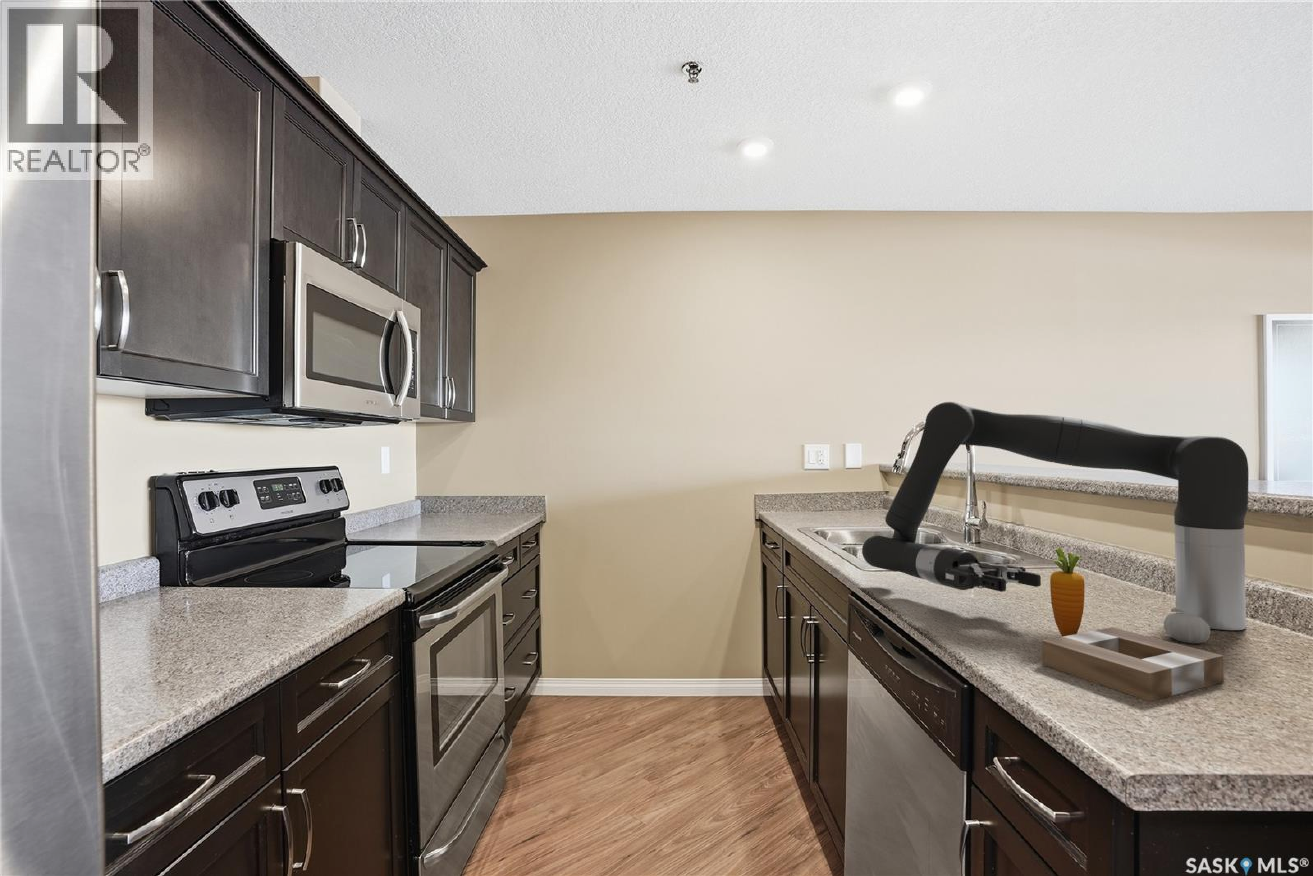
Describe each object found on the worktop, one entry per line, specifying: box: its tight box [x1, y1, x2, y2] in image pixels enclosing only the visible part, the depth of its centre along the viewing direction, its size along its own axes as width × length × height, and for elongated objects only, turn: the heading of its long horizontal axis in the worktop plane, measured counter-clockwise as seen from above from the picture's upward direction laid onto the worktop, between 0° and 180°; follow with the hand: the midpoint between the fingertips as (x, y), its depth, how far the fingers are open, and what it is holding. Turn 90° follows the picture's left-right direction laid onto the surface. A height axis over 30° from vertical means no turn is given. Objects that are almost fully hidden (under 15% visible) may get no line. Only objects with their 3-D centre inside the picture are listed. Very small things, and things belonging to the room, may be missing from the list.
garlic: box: [1163, 607, 1211, 644], centre depth 100 cm, size 6×5×5 cm
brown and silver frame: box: [1041, 626, 1225, 702], centre depth 86 cm, size 16×14×4 cm
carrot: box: [1049, 548, 1086, 637], centre depth 99 cm, size 5×5×15 cm
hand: (1022, 583), depth 107 cm, fingers open, 8 cm apart
